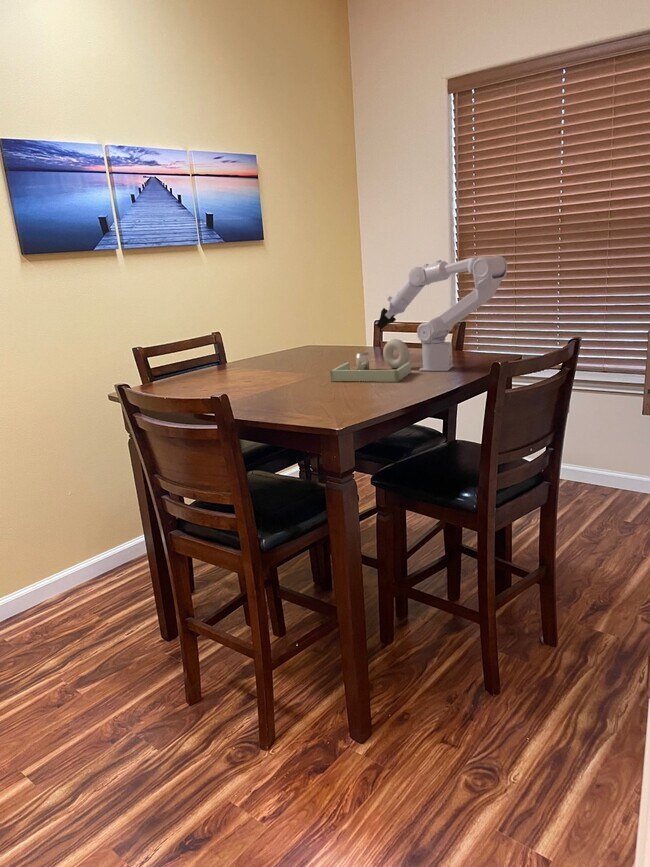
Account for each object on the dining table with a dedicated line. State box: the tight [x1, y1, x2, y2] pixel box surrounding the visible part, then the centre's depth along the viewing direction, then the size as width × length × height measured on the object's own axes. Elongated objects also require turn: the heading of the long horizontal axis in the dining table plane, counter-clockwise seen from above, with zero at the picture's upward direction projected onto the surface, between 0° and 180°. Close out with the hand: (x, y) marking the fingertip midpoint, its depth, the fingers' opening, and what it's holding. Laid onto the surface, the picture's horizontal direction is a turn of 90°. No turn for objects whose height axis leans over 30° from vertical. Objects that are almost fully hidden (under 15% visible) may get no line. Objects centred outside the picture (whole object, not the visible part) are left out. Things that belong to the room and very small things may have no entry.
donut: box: [382, 338, 410, 370], centre depth 218 cm, size 10×4×10 cm, turn 48°
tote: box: [329, 361, 412, 383], centre depth 207 cm, size 22×15×4 cm
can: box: [355, 351, 371, 370], centre depth 220 cm, size 4×4×6 cm
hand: (383, 322), depth 225 cm, fingers open, 7 cm apart
